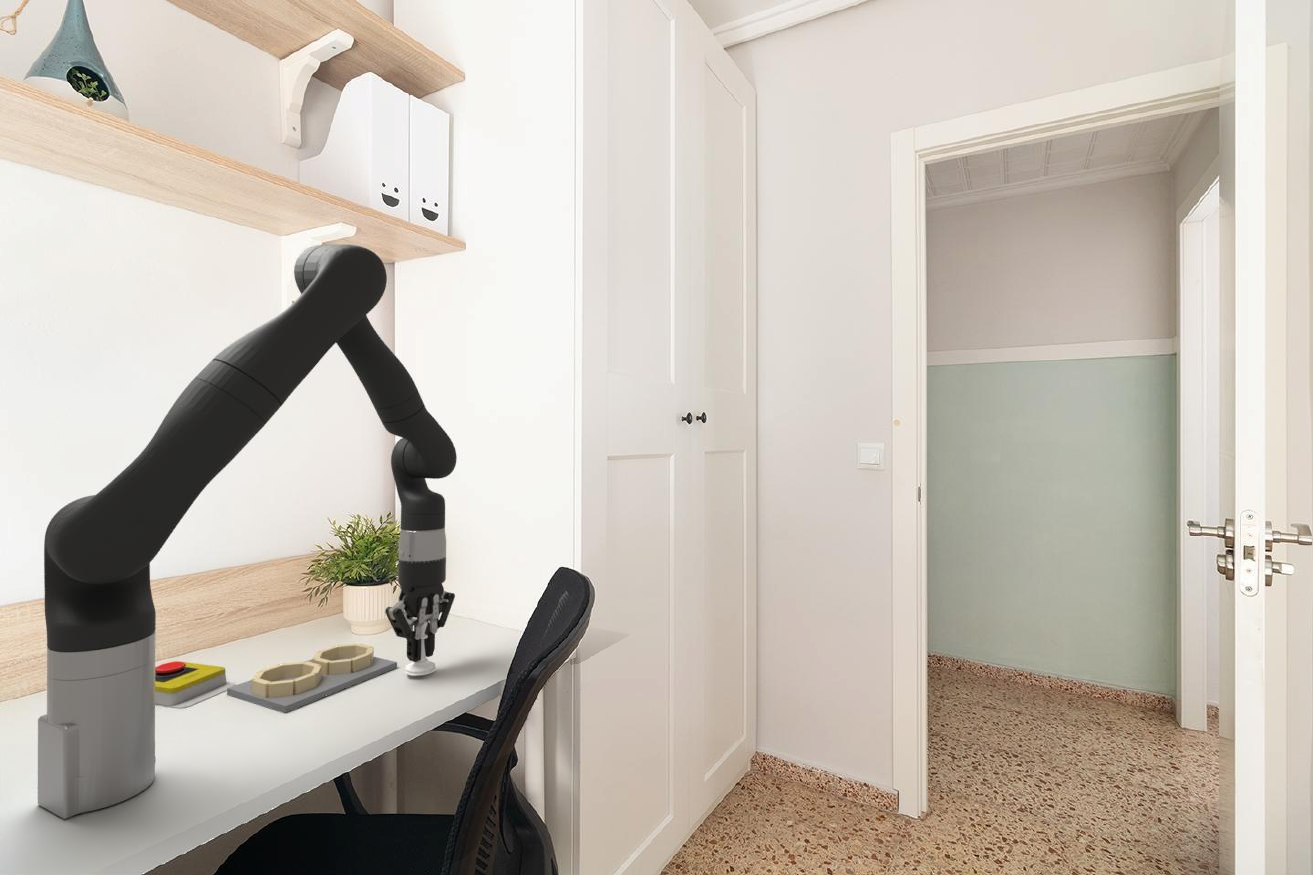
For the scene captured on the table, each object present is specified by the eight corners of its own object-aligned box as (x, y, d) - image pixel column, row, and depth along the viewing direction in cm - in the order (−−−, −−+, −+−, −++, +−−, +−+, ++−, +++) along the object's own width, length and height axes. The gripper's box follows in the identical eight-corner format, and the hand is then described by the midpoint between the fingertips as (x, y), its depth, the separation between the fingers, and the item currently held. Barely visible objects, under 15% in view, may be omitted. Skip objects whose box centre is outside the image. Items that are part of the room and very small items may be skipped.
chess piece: (441, 666, 109) (442, 608, 109) (425, 676, 104) (426, 615, 104) (415, 663, 110) (416, 606, 110) (398, 674, 105) (399, 613, 105)
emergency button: (168, 651, 106) (240, 660, 102) (168, 678, 106) (240, 688, 102) (107, 672, 97) (183, 682, 93) (107, 700, 97) (183, 712, 93)
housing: (285, 713, 92) (285, 692, 92) (227, 694, 98) (227, 675, 98) (397, 667, 110) (397, 650, 110) (341, 654, 116) (341, 638, 116)
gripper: (406, 564, 99) (404, 675, 99) (468, 550, 112) (467, 649, 112) (372, 559, 103) (370, 667, 103) (436, 546, 115) (435, 642, 115)
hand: (420, 657), depth 107 cm, fingers closed on chess piece
